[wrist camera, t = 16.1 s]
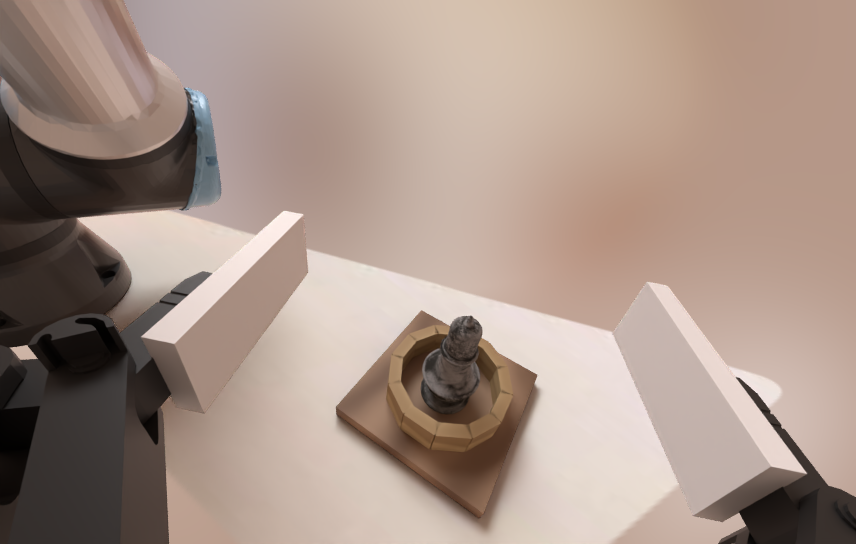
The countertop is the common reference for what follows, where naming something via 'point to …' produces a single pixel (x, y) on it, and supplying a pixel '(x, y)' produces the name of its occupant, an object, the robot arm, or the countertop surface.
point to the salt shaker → (453, 368)
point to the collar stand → (441, 433)
